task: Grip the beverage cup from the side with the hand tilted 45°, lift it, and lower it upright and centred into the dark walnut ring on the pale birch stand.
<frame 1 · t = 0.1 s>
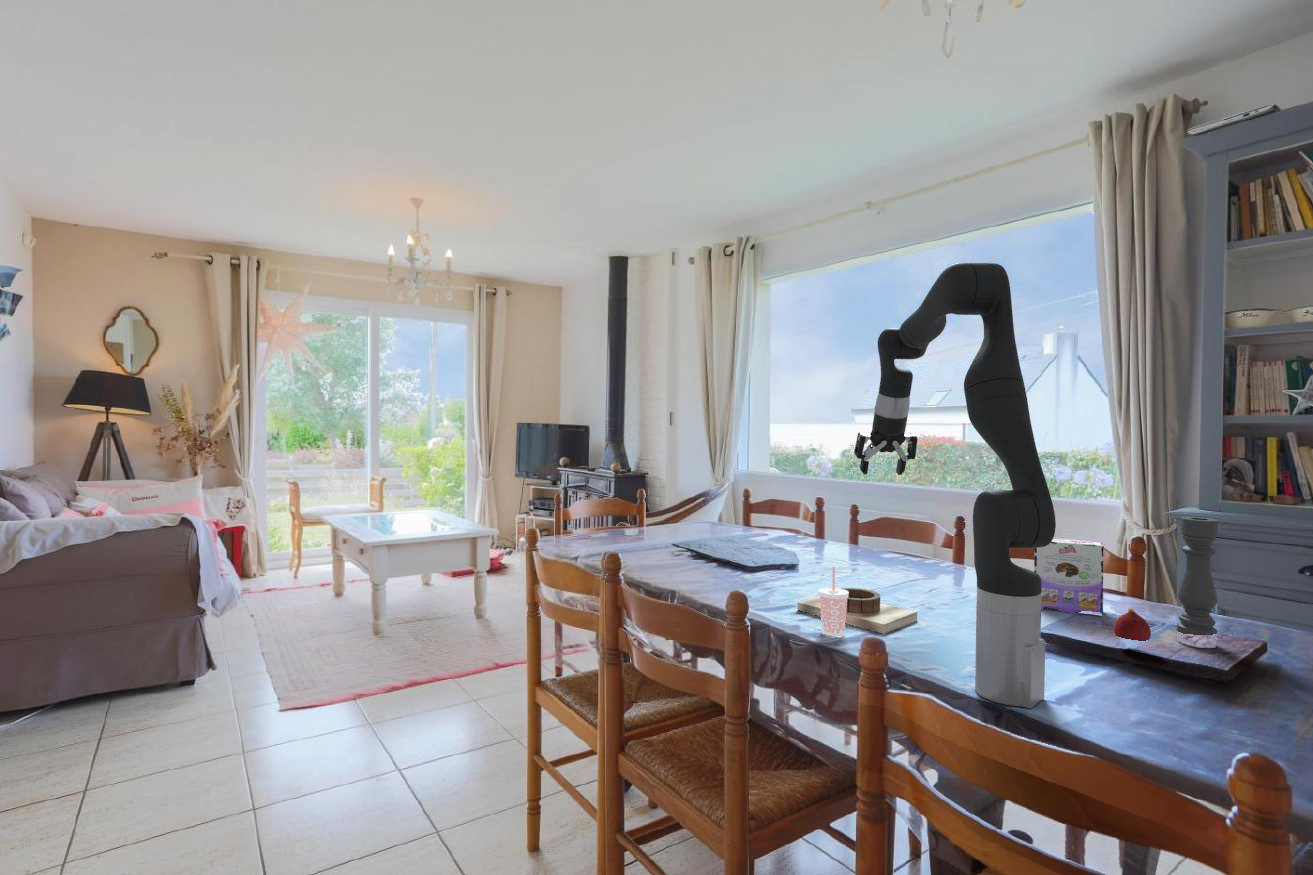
hand: (881, 473, 163), 31 cm above the table, tool tilted 20°, fingers open, 8 cm apart
candy box: (1067, 610, 155), on the table
onion: (1131, 650, 128), on the table
candle holder: (1196, 644, 132), on the table
cup stand: (855, 615, 150), on the table
beverage cup: (833, 634, 137), on the table
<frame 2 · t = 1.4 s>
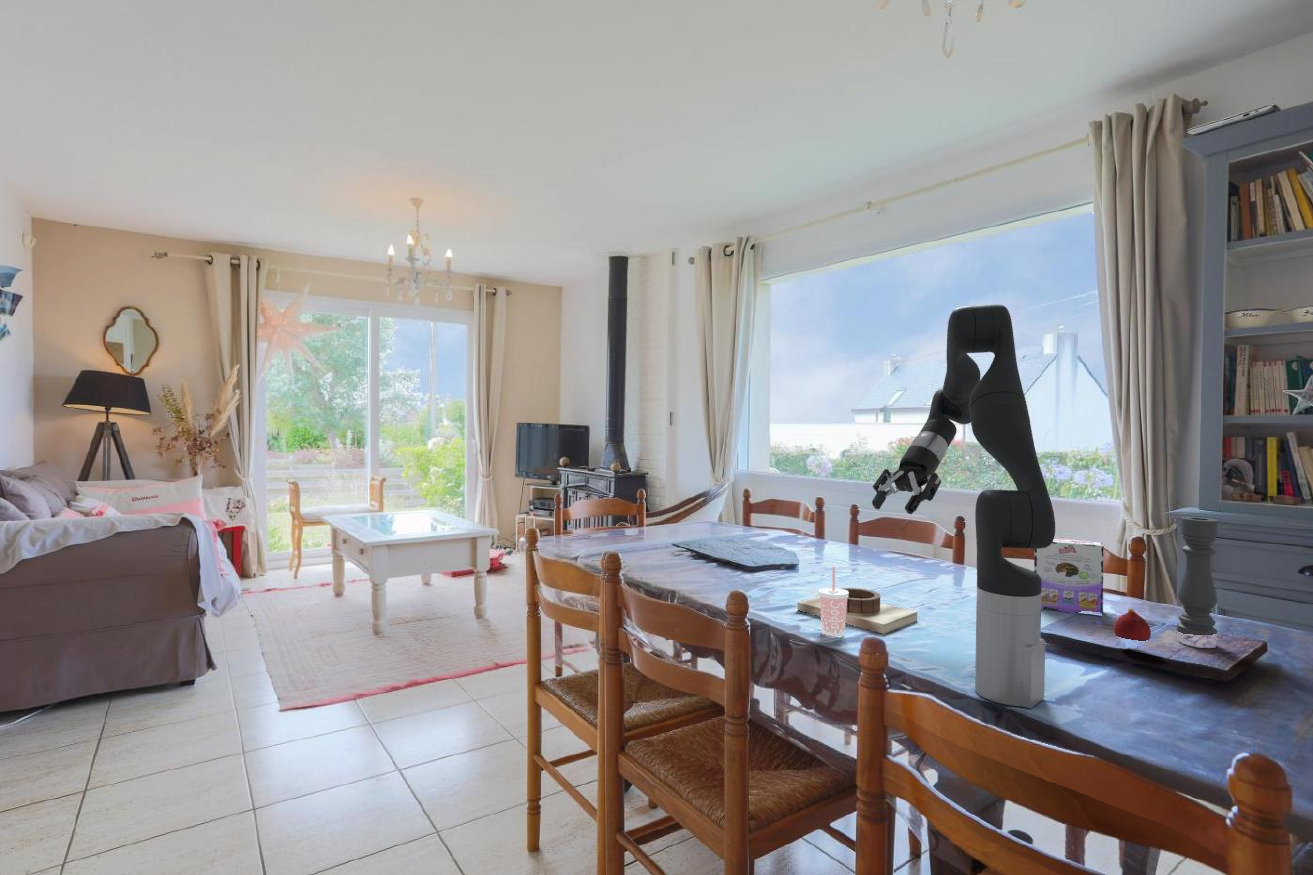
hand: (891, 509, 145), 25 cm above the table, tool tilted 45°, fingers open, 8 cm apart
nothing on the table moved.
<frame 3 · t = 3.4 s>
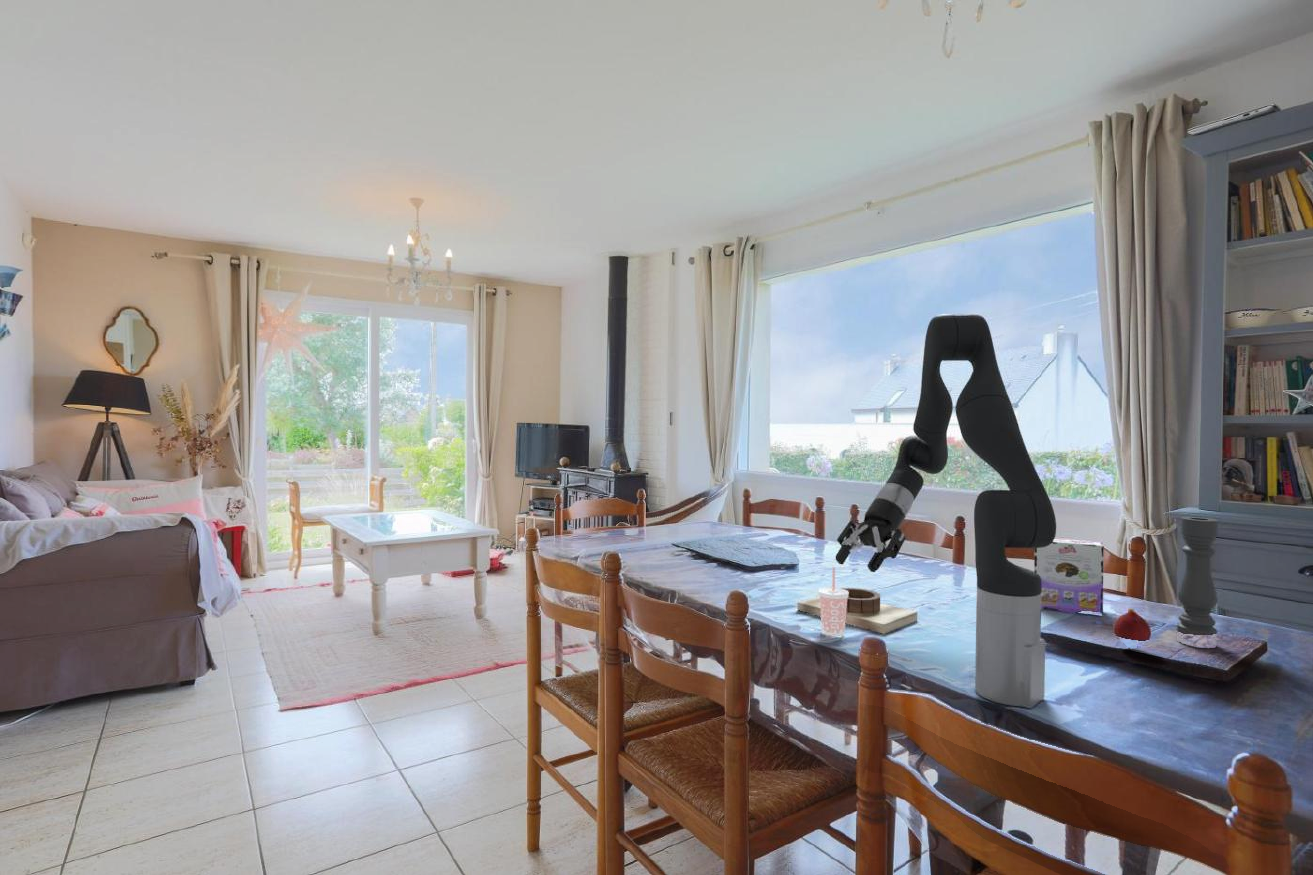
hand: (854, 565, 140), 13 cm above the table, tool tilted 45°, fingers open, 8 cm apart
nothing on the table moved.
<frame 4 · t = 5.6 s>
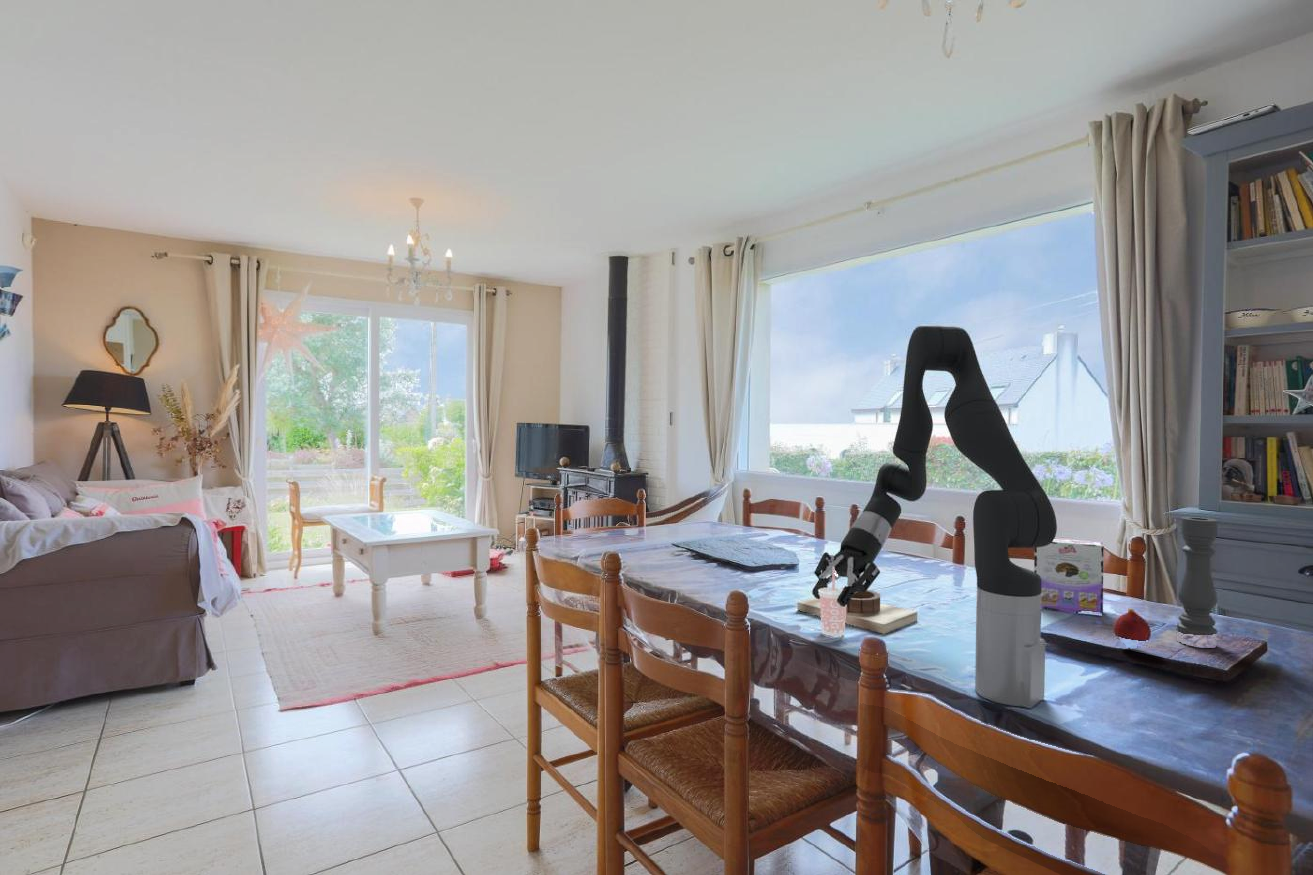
hand: (827, 600, 136), 7 cm above the table, tool tilted 45°, fingers closed on beverage cup, 6 cm apart
beverage cup: (833, 634, 137), on the table, touching gripper
everything else where it was.
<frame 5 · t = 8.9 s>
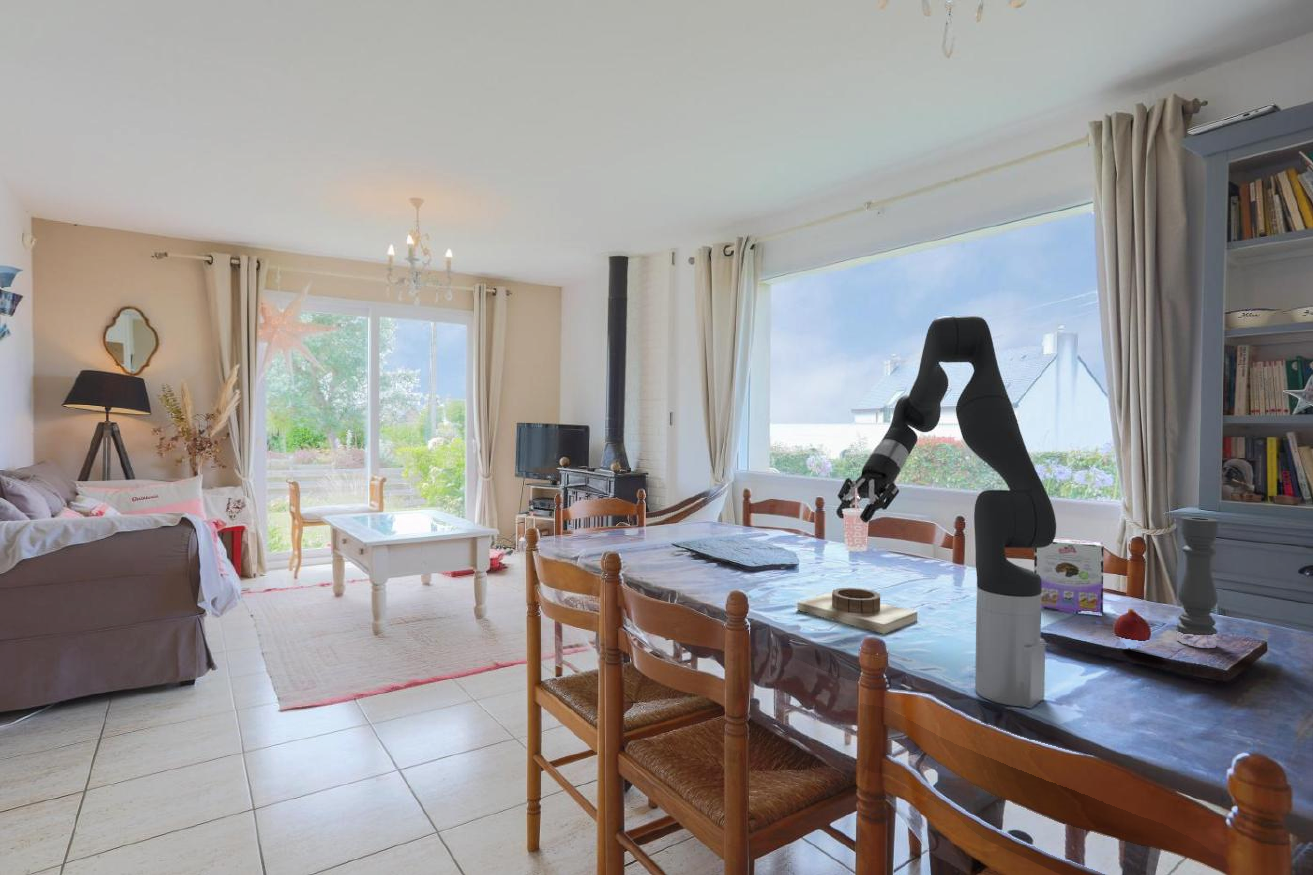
hand: (851, 518, 148), 22 cm above the table, tool tilted 45°, fingers closed on beverage cup, 6 cm apart
beverage cup: (856, 550, 150), point 15 cm above the table, touching gripper
everything else where it was.
when the fingers open (11 cm above the table, at t = 12.3 s): beverage cup drops 1 cm, resting on cup stand.
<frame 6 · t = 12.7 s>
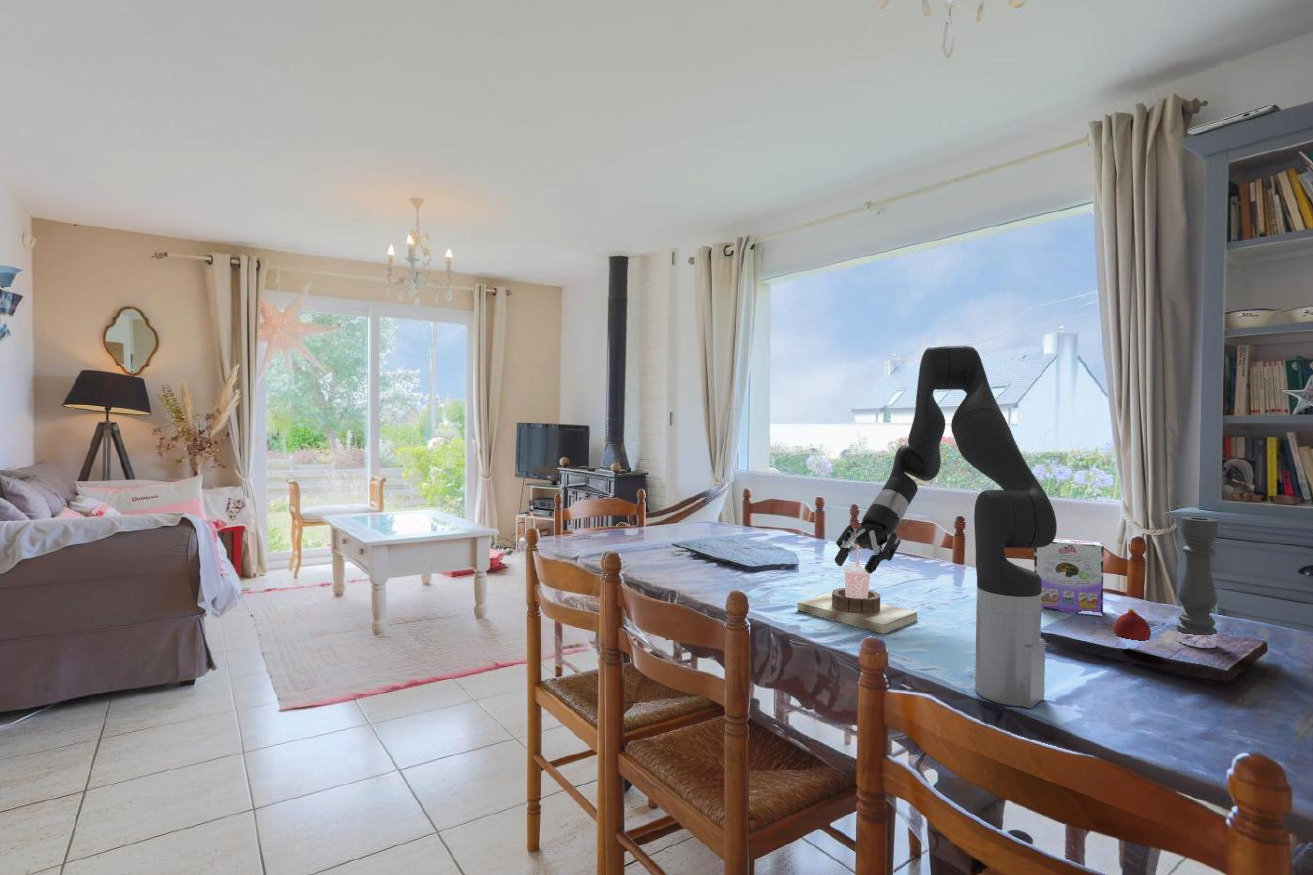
hand: (852, 567, 149), 11 cm above the table, tool tilted 45°, fingers open, 8 cm apart
beverage cup: (856, 607, 150), point 2 cm above the table, touching cup stand
everything else where it was.
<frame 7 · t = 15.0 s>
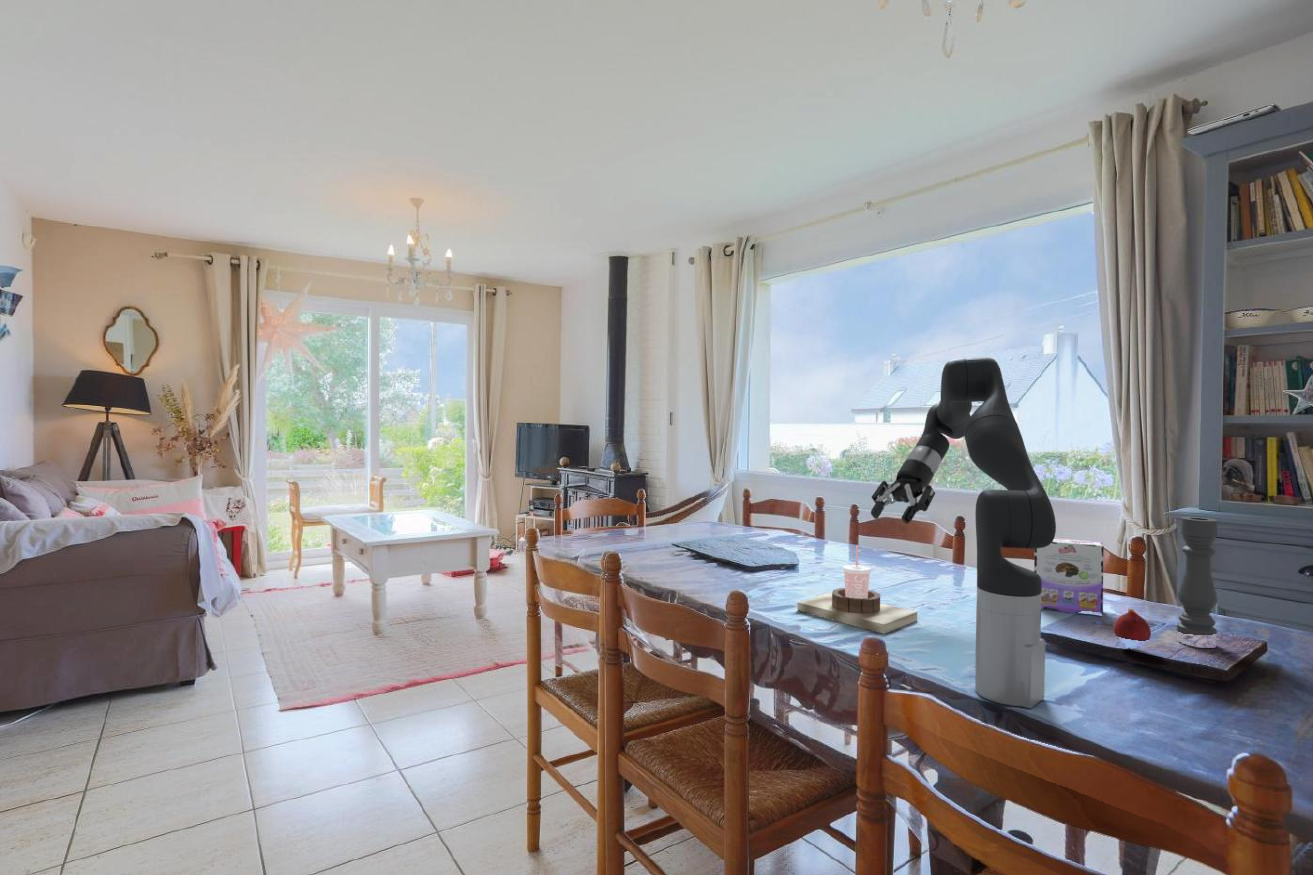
hand: (888, 518, 156), 21 cm above the table, tool tilted 45°, fingers open, 8 cm apart
nothing on the table moved.
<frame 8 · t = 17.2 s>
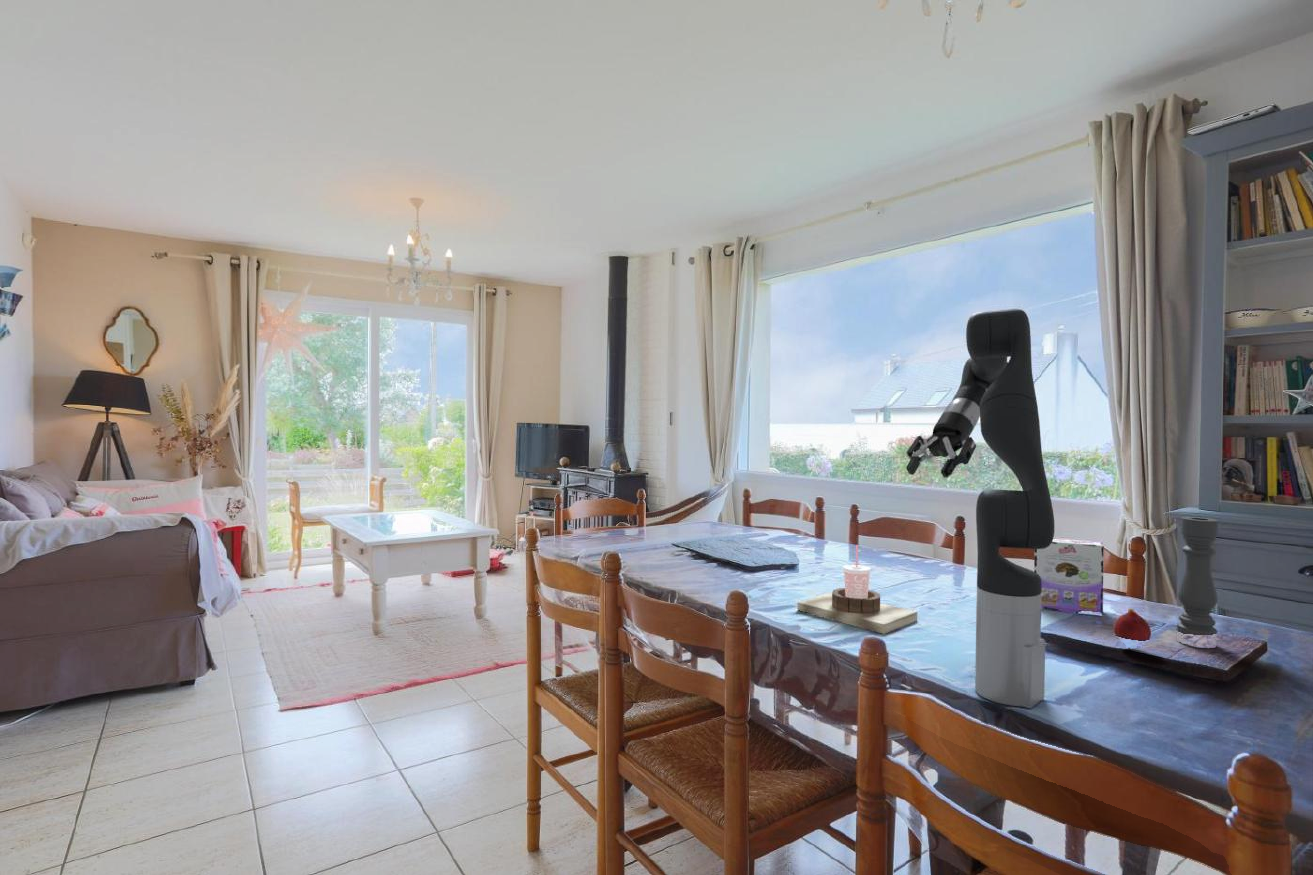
hand: (926, 473, 146), 33 cm above the table, tool tilted 45°, fingers open, 8 cm apart
nothing on the table moved.
at the end: beverage cup 0.2 cm off-centre on the cup stand, point 1.8 cm above the cup stand's base; beverage cup tilted 0°; the gripper is holding nothing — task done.
